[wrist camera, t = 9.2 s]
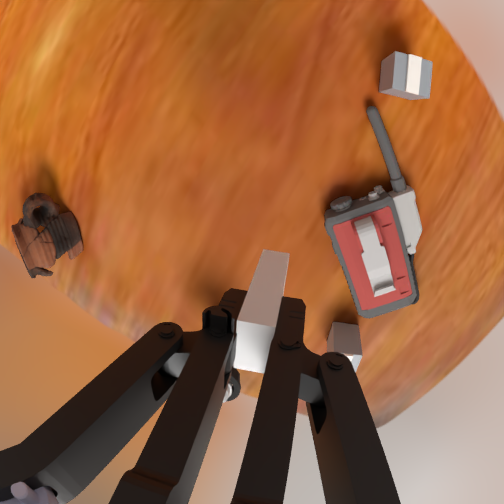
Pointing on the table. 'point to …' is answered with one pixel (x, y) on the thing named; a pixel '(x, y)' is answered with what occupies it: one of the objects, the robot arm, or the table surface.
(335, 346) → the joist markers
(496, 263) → the table surface
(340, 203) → the walkie-talkie
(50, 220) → the pottery mug
